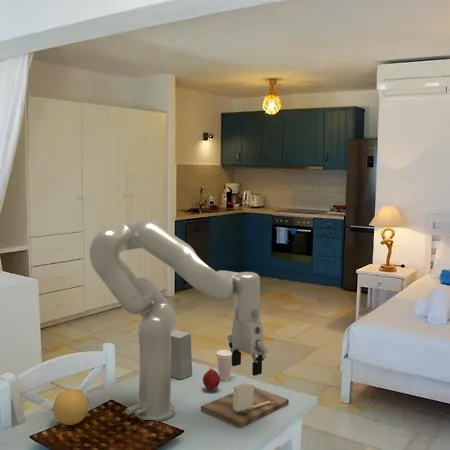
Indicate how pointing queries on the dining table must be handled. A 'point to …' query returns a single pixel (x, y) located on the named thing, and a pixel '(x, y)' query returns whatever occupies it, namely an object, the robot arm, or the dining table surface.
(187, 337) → the skincare box
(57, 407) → the stress ball
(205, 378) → the onion
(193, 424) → the dining table surface
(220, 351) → the smoothie
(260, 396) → the wooden cutting board
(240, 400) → the cheese with knife
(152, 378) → the robot arm
